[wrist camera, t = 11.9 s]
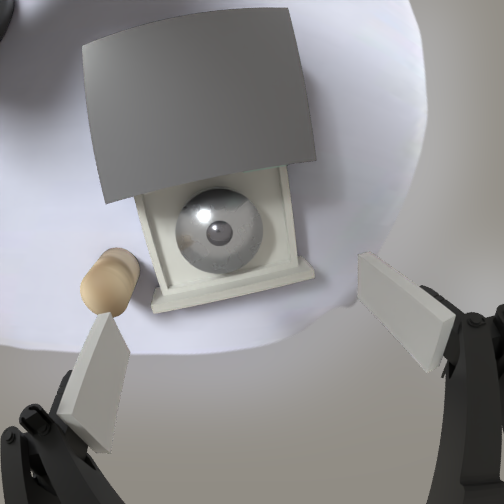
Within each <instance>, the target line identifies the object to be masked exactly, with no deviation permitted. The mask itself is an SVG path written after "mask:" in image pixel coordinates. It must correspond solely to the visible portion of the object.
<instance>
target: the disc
mask: <svg viewBox="0 0 504 504" xmlns="http://www.w3.org/2000/svg"><path fill="white" fill-rule="evenodd" d="M175 236H176V242H177V245H178V248H179V250H180V252H181V254H182V255H183V257H184V258H185V259H186V260H187V261H188V262H189V263H190V264H191V265H192V266H194V267H195V268H197V269H199V270H201V271H204V272H208V273H214V274H223V273H229V272H232V271H235V270H238V269H239V268H241V267H243V266H244V265H246V264H247V263H248V262H249V261H251V259H252V258H253V257H254V256H255V254H256V253H257V251H258V250H259V248H260V245H261V242H262V238H263V223H262V219H261V216H260V214H259V212H258V210H257V208H256V207H255V206H254V204H253V203H252V202H251V201H250V200H249V199H248V198H247V197H246V196H245V195H244V194H242V193H241V192H239V191H237V190H235V189H232V188H229V187H223V186H216V187H209V188H206V189H203V190H201V191H199V192H197V193H195V194H194V195H193V196H191V197H190V198H189V199H188V200H187V201H186V203H185V204H184V205H183V207H182V209H181V211H180V213H179V216H178V220H177V223H176V230H175Z"/></svg>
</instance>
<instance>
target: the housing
mask: <svg viewBox="0 0 504 504" xmlns="http://www.w3.org/2000/svg"><path fill="white" fill-rule="evenodd" d="M82 56H83V73H84V85H85V95H86V104H87V112H88V119H89V126H90V132H91V138H92V144H93V150H94V155H95V160H96V165H97V170H98V174H99V179H100V183H101V187H102V192H103V196H104V200H105V203H106V204H108V203H112V202H115V201H119V200H122V199H126V198H129V197H133V196H137V195H141V194H150V193H153V192H155V191H156V190H160V189H164V188H168V187H172V186H177V185H181V184H185V183H190V182H194V181H199V180H203V179H208V178H213V177H218V176H223V175H228V174H233V173H239V172H243V173H247V172H253V171H259V170H265V169H271V168H277V167H284V166H287V164H294V163H302V162H309V161H316V153H315V146H314V138H313V131H312V124H311V118H310V112H309V106H308V100H307V94H306V88H305V83H304V77H303V72H302V67H301V62H300V57H299V53H298V48H297V44H296V39H295V35H294V30H293V26H292V22H291V18H290V14H289V10H288V8H242V9H228V10H218V11H210V12H202V13H196V14H190V15H184V16H179V17H174V18H169V19H164V20H160V21H156V22H152V23H148V24H144V25H140V26H137V27H133V28H130V29H127V30H123V31H120V32H117V33H114V34H111V35H109V36H106V37H103V38H100V39H98V40H95V41H93V42H90V43H88V44H85V45H83V46H82Z"/></svg>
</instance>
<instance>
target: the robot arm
mask: <svg viewBox="0 0 504 504" xmlns="http://www.w3.org/2000/svg"><path fill="white" fill-rule="evenodd" d="M13 8H14V1H13V0H0V41H1V39H2V37H3V35H4V33H5V31H6V29H7V27H8V24H9V22H10V19H11V16H12V13H13ZM357 298H358V299H359V300H360V301H361V303H362V304H364V306H365V307H366V308H367V309H368V310H369V311H370V312H371V313H372V314H373V315H374V316H375V317H376V318H377V319H378V320H379V321H380V322H381V323H382V324H383V326H384V327H385V328H386V329H387V330H388V331H389V332H390V333H391V334H392V335H393V336H394V337H395V338H396V339H397V341H398V342H399V343H400V344H401V345H402V346H403V347H404V348H405V349H406V350H407V351H408V352H409V354H410V355H411V356H412V357H413V358H414V359H415V360H416V361H417V363H418V364H419V365H420V366H421V367H422V368H423V369H424V370H425V371H426V372H427V373H428V372H430V371H432V370H433V369H435V368H436V367H438V366H439V365H440V363H441V360H442V358H443V356H444V357H445V358H446V359H447V363H446V366H445V368H444V371H443V373H442V376H441V377H442V378H443V377H444V375H445V373H446V382H445V401H444V414H443V423H442V432H441V439H440V446H439V451H438V457H437V463H436V468H435V472H434V476H433V481H432V485H431V489H430V493H429V496H428V500H427V503H426V504H504V482H503V481H501V480H500V477H499V476H500V464H501V463H500V462H501V445H502V428H503V432H504V304H502V305H499V306H498V308H497V311H496V313H495V316H491V317H487V318H485V317H484V316H483V315H480V314H479V313H474V312H470V313H467V314H464V313H463V312H462V311H460V310H459V309H458V308H457V307H455V306H454V305H453V304H451V303H450V302H449V301H447V300H445V299H444V298H443V297H442V296H441V295H439V294H438V293H437V292H435V291H434V290H432V289H431V288H428V287H426V286H423V285H421V286H418V285H416V284H415V283H414V282H412V281H411V280H410V279H408V278H407V277H405V276H404V275H403V274H401V273H400V272H399V271H397V270H396V269H394V268H393V267H392V266H390V265H389V264H387V263H386V262H384V261H383V260H381V259H380V258H379V257H377V256H376V255H374V254H373V253H371V252H370V251H369V252H365V253H362V254H358V293H357ZM129 356H130V351H129V349H128V347H127V345H126V343H125V341H124V339H123V337H122V335H121V333H120V331H119V329H118V327H117V325H116V323H115V321H114V319H113V317H112V315H111V312H107V313H102V314H98V316H97V318H96V320H95V322H94V324H93V326H92V328H91V330H90V332H89V334H88V336H87V339H86V341H85V343H84V345H83V347H82V350H81V352H80V354H79V357H78V359H77V362H76V364H75V366H74V368H73V370H69V371H68V372H67V374H66V375H65V376H64V377H63V379H62V381H61V384H60V388H59V389H58V391H57V395H56V396H55V399H54V402H53V404H52V407H51V410H50V412H49V415H48V414H47V413H46V412H45V410H44V409H43V408H42V407H41V406H40V405H38V404H31V405H29V406H27V407H26V408H25V409H24V410H23V411H22V413H21V415H20V418H19V423H20V424H21V425H22V426H23V427H24V429H26V430H27V433H22V432H21V431H20V430H19V429H18V428H17V427H14V426H11V427H8V428H7V429H6V430H4V432H3V434H2V436H1V472H2V483H3V492H4V499H5V504H125V503H124V502H123V500H122V499H121V498H120V497H119V496H118V494H117V493H116V492H115V490H114V489H113V488H112V486H111V485H110V484H109V482H108V481H107V480H106V478H105V477H104V475H103V474H102V472H101V471H100V469H99V468H98V467H97V465H96V463H95V462H94V460H93V459H92V457H91V456H90V455H89V454H88V453H87V448H88V446H89V447H90V448H91V449H92V450H93V451H94V452H96V453H108V454H111V448H112V442H113V436H114V429H115V423H116V418H117V412H118V407H119V402H120V396H121V392H122V387H123V382H124V378H125V373H126V369H127V364H128V360H129ZM31 471H32V472H33V477H32V476H31Z"/></svg>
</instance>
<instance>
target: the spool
mask: <svg viewBox="0 0 504 504" xmlns="http://www.w3.org/2000/svg"><path fill="white" fill-rule="evenodd" d="M139 274H140V268H139V264H138V261H137V260H136V258H135V257H134V256H133V254H131V253H130V252H129V251H127V250H125V249H122V248H111V249H108V250H107V251H105V252H104V253H103V254H102V255H101V257H100V258H99V259H98V260H97V262H96V263H95V264H94V265H93V267H92V268H91V269H90V270H89V272H88V273H87V274H86V276H85V277H84V278H83V280H82V282H81V286H80V293H81V297H82V300H83V302H84V303H85V305H86V306H87V307H88V308H89V309H90V310H91V311H92V312H93V313H95V314H97V315H98V314H102V313H107V312H111V315H112V317H117V316H119V315H121V314H122V313H123V312H124V311H125V309H126V308H127V305H128V303H129V300H130V298H131V295H132V293H133V290H134V288H135V285H136V283H137V280H138V278H139Z"/></svg>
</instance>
